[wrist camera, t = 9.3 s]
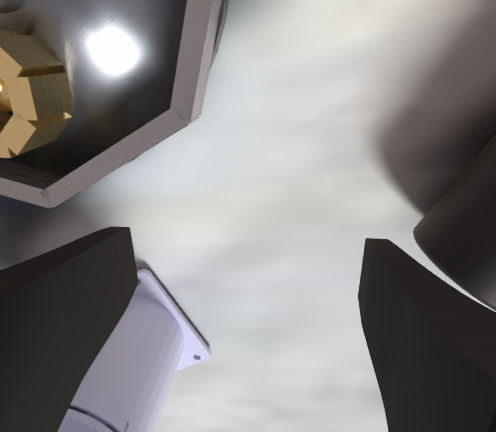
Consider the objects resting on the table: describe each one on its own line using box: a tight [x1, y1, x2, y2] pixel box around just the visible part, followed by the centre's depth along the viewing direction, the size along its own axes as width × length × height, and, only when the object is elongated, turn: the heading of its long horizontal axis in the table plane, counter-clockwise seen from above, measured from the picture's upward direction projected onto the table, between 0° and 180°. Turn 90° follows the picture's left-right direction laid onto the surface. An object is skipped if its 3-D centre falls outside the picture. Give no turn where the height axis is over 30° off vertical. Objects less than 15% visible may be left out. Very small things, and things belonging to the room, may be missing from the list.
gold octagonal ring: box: [0, 31, 74, 158], centre depth 18 cm, size 5×5×3 cm
